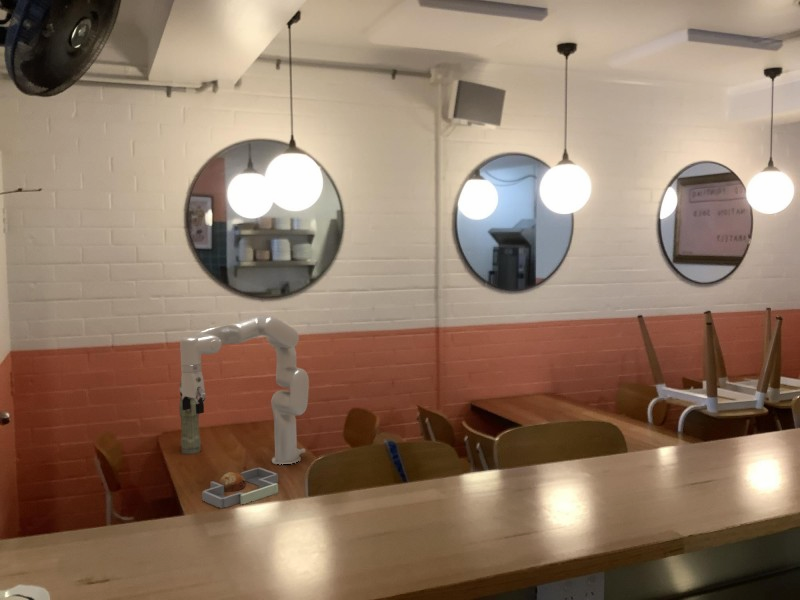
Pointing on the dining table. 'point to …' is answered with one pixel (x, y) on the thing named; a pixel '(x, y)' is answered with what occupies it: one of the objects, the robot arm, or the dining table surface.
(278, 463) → the robot arm
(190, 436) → the grey green carved statue
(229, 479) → the bread roll
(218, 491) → the channel
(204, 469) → the dining table surface
